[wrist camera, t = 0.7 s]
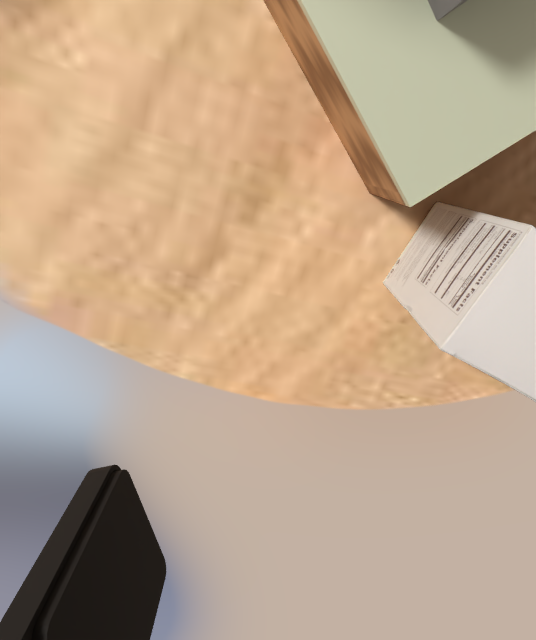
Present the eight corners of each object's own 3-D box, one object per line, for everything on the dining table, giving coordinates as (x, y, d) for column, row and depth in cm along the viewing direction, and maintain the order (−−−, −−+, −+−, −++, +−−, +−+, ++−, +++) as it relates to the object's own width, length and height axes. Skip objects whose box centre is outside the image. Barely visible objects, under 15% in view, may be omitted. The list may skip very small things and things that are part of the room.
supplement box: (516, 248, 44) (657, 300, 28) (457, 327, 46) (555, 416, 30) (434, 197, 42) (533, 221, 26) (378, 282, 45) (437, 351, 29)
